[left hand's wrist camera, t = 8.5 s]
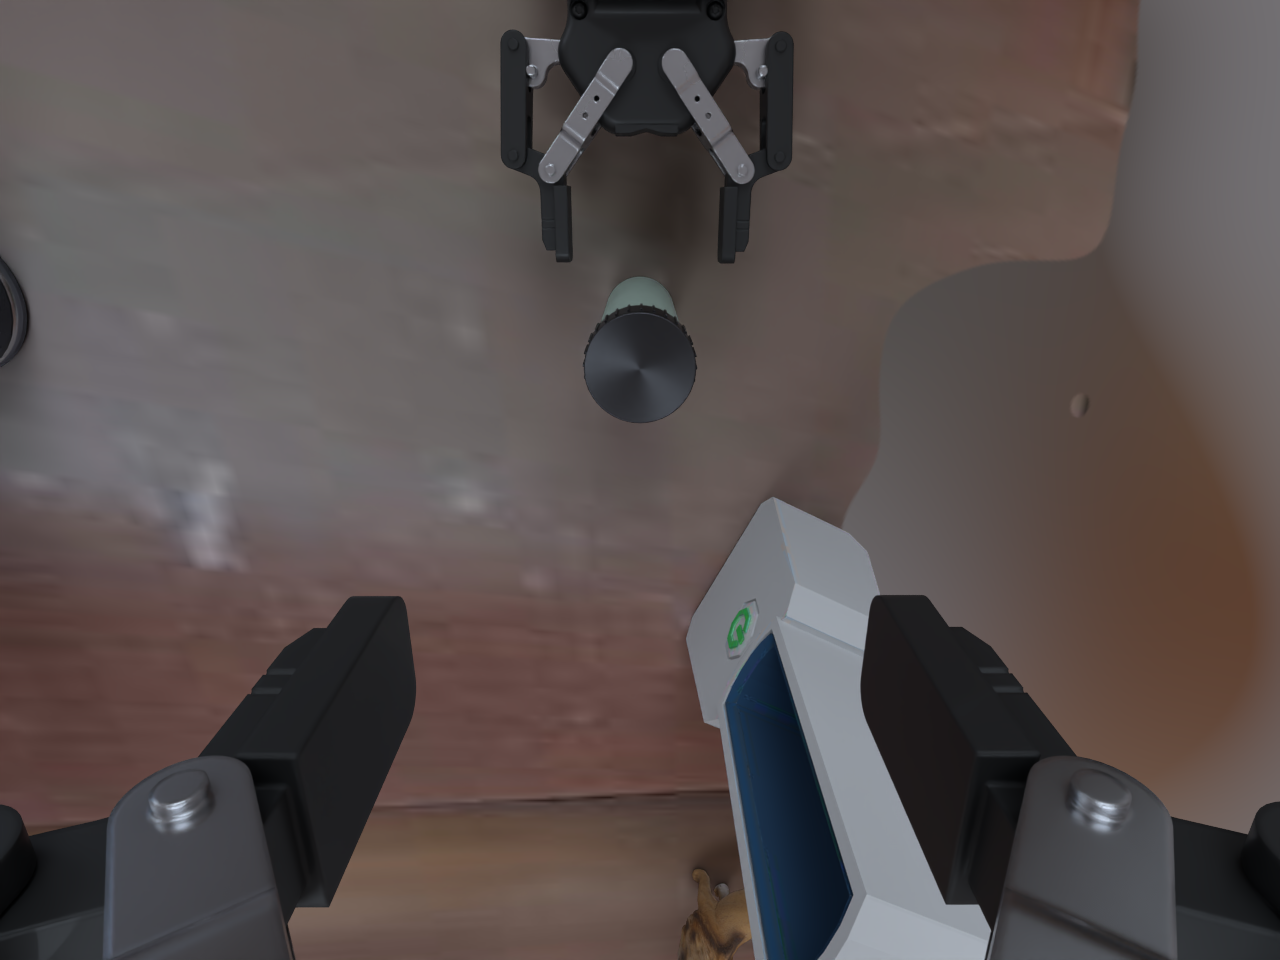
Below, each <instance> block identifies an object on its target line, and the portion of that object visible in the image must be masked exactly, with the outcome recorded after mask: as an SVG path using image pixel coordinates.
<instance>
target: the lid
mask: <svg viewBox="0 0 1280 960" xmlns="http://www.w3.org/2000/svg"><path fill="white" fill-rule="evenodd" d="M588 342H589V345H588V344H587V346H586V349H585V352H584V354H586V355H585V359H584V362H583V367H584V379H585V380H586V384H587V387H588V390H589V392H590V393H591V395H592V397H593V398H594V400H595V401H596V403H597V404H598V405H599V406H600V407H601V408H602V409H603V410H605V411H606V412H607V413H609V414H610V415H612V416H614V417H616V418H618V419H620V420H624V421H627V422H633V423H648V422H653V421H656V420H659V419H662V418H664V417H666V416H668V415H670V414H671V413H673V412H674V411H675V410H677V409H678V408H679V407H680V406H681V405H682V404H683V403H684V401H685V400H686V398H687V397H688V395H689V393H690V392H691V390H692V387H693V384H694V382H695V376H696V369H697V365H696V360H695V357H697V356H696V353H695V350H694V347H692V345H693V342H692V340H691V337H690V335H689V336H688V335H687V332H686V329H685V326H684V325H681V324H680V323H679V322H678V320H677V317H676V316H674V317H673V316H672V315H670V314H669V313H667V310H665V309H664V311H663V310H661V309H659V308H656V307H655V305H652V306H647V305H643V303H640V305H633V306H630V304H629V305H628V307H624V308H621V309H618V308H617V309H616V311H615V312H613V313H611V314H610V315H609V316H608V314H607V315H606V316H605V319H604V320H603V321H602V322H601V323H600V324H599V323H598V324H597V326H596V328H595V331H594V333H591V335H590V338H589V340H588Z"/></svg>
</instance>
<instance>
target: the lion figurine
mask: <svg viewBox="0 0 1280 960" xmlns="http://www.w3.org/2000/svg"><path fill="white" fill-rule="evenodd" d="M692 876H693V879H694V880H695V881H696V882H699V889H698V910H696V911H694V913H693V914H691V915H690V917H688V918H687V921H686V925H684V926H683V928H682V933H681V940H680V945H679V950H678V960H733V955H734V954H735V952H736V950H737V949H738V948H739V946H740V945H742V944H743V943H745V942H746V941H748V940H750V939H752V936H751V929H750V922H749V916H748V909H747V903H746V896H745V889H742V890H738V891H734V892H732V893H730V890H729V887H728V886H727V885H726V884H723V883H722V884H719V885H717V886H716V887H715V888H714V892H715V895H716V896H717V897H719V900H720V901H719V902H718V901H717V900H716V899H715V897H714V896H713V895H712V893H711V888H710V877H709V876H708V875H707V873H706V871H704V870H701V869H695V870H694V871H693V873H692Z"/></svg>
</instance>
